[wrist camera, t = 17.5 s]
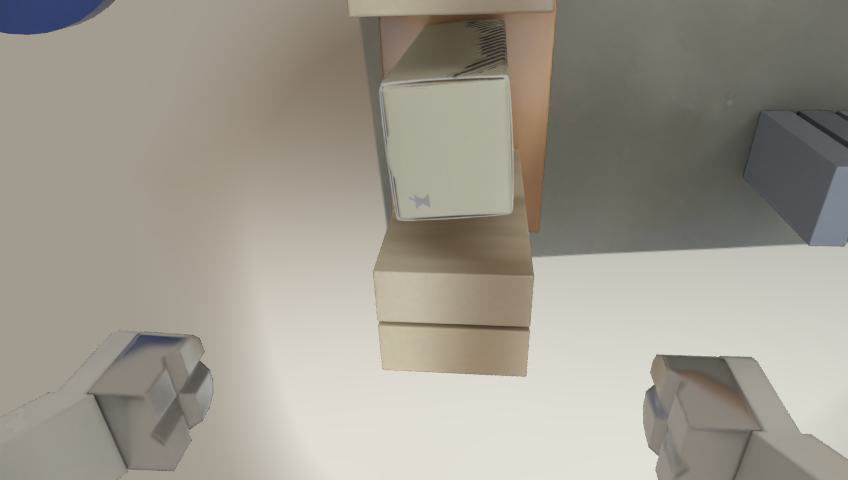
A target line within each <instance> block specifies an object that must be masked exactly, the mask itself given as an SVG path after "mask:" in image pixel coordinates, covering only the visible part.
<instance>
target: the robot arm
mask: <svg viewBox="0 0 848 480" xmlns="http://www.w3.org/2000/svg"><path fill="white" fill-rule="evenodd" d="M204 352H205V351H204V349H203V346H202V343H201V340H200V338H198V337H196V336H194V335H187V334H172V333H157V332H134V331H117V332H114V333H111V334H110V335H109V336H108V337H107V338H106V339H105V340H104V341H103V343H102V344H101V345H100V346H99V347H98V348H97V349H96V350H95V351H94V352H93V353H92V354H91V356H90V357H89V358H88V359H87V360H86V361H85V362H84V363H83V364H82V365H81V367H80V368H79V369H78V370H77V371H76V372H75V373H74V374H73V375H72V376H71V377H70V378H69V380H68V381H67V382H66V383H65V384H64V385H63V386H62V387H61V388H60V389H59V390H58V392H48V393H46V394H44V395H42V396H40V397H38V398H36V399H34V400H32V401H30V402H28V403H26V404H24V405H23V406H21V407H19V408H17V409H15V410H13V411H11V412H9V413H7V414H5V415H3V416H1V417H0V480H119V479H120V478H121V477H122V476H123V475H125V474H126V473H127V472H128V470H127V469H131V470H156V471H174V470H175V469H176V467H177V465H178V463H179V461H180V460H181V458H182V456H183V454H184V453H185V451H186V449H187V448H188V446H189V444H190V442H191V441H192V440H191V435H190V431H189V430H190V429H191V428H193V427H194V426H196V425H197V424H198V423H200V422H202V421H203V419H204V418H205V416H206V414H207V412H208V410H209V408H210V405H211V401H212V397H213V378H212V375H211V372H210V370H209V369H208V368H207V367H206V366H205V365H204V364H203V363H202V362H201V361H200V359H201V357H202V355H203V354H204ZM650 373H651V376H652V379H653V382H654V385H653V386H652V387H651V388H650V389H649V390H648V391H646V394H645V400H644V405H643V424H644V430H645V435H646V439H647V442H648V446H649V448H650V449H651V450H652V451H654V452H655V453H656V454H657V455H658V456H659V457H658V461H657V465H656V473H657V477H658V480H848V459H847V458H845V457H844V456H842V455H841V454H839V453H838V452H836V451H835V450H833V449H832V448H831V447H829V446H828V445H826V444H825V443H823V442H822V441H820V440H819V439H817V438H816V437H814V436H813V435H811V434H801V433H800V431H799V429H798V428H797V426H796V424H795V423H794V421H793V419H792V418H791V416H790V414H789V413H788V411H787V410H786V408H785V406H784V405H783V403H782V401H781V400H780V398H779V397H778V395H777V393H776V391H775V390H774V388H773V387H772V385H771V383H770V382H769V380H768V379H767V377H766V375H765V373H764V372H763V370H762V368H761V367H760V365H759V364H758V362H757V361H756V360H755V359H753V358H752V357H728V356H720V357H710V356H682V355H656V357H655V358H654V360H653V363H652V367H651V371H650Z"/></svg>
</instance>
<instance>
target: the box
mask: <svg viewBox="0 0 848 480" xmlns="http://www.w3.org/2000/svg"><path fill="white" fill-rule="evenodd" d="M378 93H379V103H380V114H381V122H382V130H383V137H384V146H385V153H386V160H387V166H388V172H389V179H390V186H391V192H392V198H393V203H394V209H395V216H396V219H397V220H400V221H416V220H440V219H457V218H472V217H487V216H499V215H508V214H510V213H512V211H513V199H514V152H513V123H512V106H511V92H510V81H509V75H508V61H507V44H506V28H505V21H504V19H487V20H472V21H459V22H450V23H442V24H435V25H428V26H425V27H424V28H423V29H422V30H421V32H420V33H419V35H418V36H417V37H416V39H415V40H414V41H413V42H412V44H411V45H410V47H409V48H408V49H407V50H406V52H405V53H404V54H403V56H402V57H401V58H400V60H399V61H398V62H397V64H396V65H395V66H394V68H393V69H392V70H391V72H390V73H389V74H388V75H387V77H386V78H385V79H384V80H383V81H382V82H381V84H380V86H379V91H378Z"/></svg>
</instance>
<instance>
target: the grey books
mask: <svg viewBox="0 0 848 480" xmlns="http://www.w3.org/2000/svg"><path fill="white" fill-rule="evenodd" d="M743 177H744V178H745V179H746V180H747V181H748V182H749V183H750V184H751V185H752V187H753V188H754V189H755V190H756V191H757V192H758V193H759V194H760V195H761V196H762V197H763V198H764V199H765V200H766V201H767V202H768V203H769V204H770V205H771V206H772V208H773V209H774V210H775V211H776V212H777V213H778V214H779V215H780V216H781V217H782V218H783V219H784V220H785V221H786V222H787V223H788V224H789V225H790V226H791V227H792V229H793V230H794V231H795V232H796V233H797V234H798V235H799V236H800V237H801V238H802V239H803V240H804V241H805V242H806V243H807V244H808V245H809V246H842V247H843V246H845V245H846V242H847V240H848V111H838V114H835V113H833V112H831V111H799V114H798V115H796V114H795V113H793V112H792V111H761V114H760V117H759V121H758V125H757V128H756V132H755V136H754V139H753V143H752V147H751V150H750V154H749V158H748V161H747V165H746V169H745V172H744V176H743Z"/></svg>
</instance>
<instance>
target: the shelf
mask: <svg viewBox="0 0 848 480" xmlns="http://www.w3.org/2000/svg"><path fill="white" fill-rule="evenodd" d="M347 3H348V4H347V5H348V14H349V16H351V17H373V16H379V24H380V38H381V52H382V67H383V80H384V79H385V78H386V77H387V75H388V74H389V73H390V72H391V70H392V69H393V68H394V66H395V65H396V64H397V62H398V61H399V60H400V58H401V57H402V56H403V54H404V53H405V52H406V50H407V49H408V48H409V47H410V45H411V44H412V42H413V41H414V40H415V39H416V37H417V36H418V35H419V33H420V32H421V30H422V29H423V28H424V27H425V26H428V25H435V24H442V23H450V22H459V21H472V20H487V19H504V21H505V28H506V44H507V61H508V75H509V81H510V92H511V106H512V123H513V152H514V199H513V211H512V213H510V214H508V215H499V216H487V217H472V218H457V219H440V220H416V221H400V220H397V219H396V216H395V209H394V203H393V198H392V208H393V213H392V216H391V219H390V222H389V225H388V228H387V231H386V234H385V237H384V240H383V243H382V246H381V249H380V252H379V255H378V258H377V261H376V264H375V268H374V271H373V276H374V287H375V297H376V308H377V318H378V321H380V322H379V325H378V328H379V339H380V349H381V359H382V369H383V370H394V371H416V372H437V373H459V374H479V375H502V376H522V377H525V376H526V373H527V360H528V347H529V334H530V331H529V326H530V321H531V307H532V294H533V282H534V273H533V265H532V256H531V248H530V239H529V232H535V233H538V232H539V230H540V217H541V204H542V191H543V179H544V166H545V153H546V140H547V127H548V115H549V102H550V89H551V76H552V63H553V51H554V38H555V25H556V12H557V0H347ZM391 194H392V192H391Z"/></svg>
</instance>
